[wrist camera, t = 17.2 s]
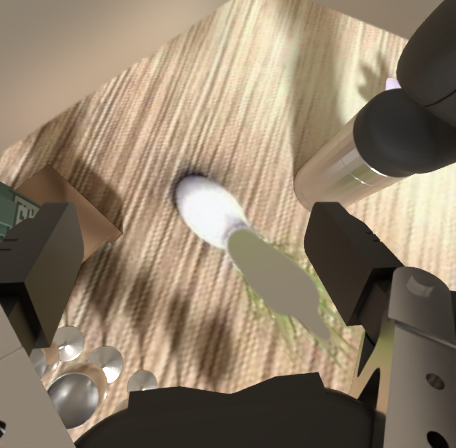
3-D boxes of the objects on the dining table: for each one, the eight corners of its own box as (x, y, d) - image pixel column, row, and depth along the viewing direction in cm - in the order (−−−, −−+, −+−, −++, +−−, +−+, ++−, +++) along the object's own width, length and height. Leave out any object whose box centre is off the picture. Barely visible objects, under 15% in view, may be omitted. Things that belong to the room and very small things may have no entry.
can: (16, 210, 37) (-87, 161, 23) (68, 213, 38) (2, 168, 24) (7, 259, 36) (-107, 241, 22) (62, 261, 37) (-13, 245, 23)
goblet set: (36, 355, 39) (-32, 388, 26) (64, 314, 41) (12, 327, 28) (224, 459, 40) (245, 541, 27) (244, 416, 42) (274, 474, 29)
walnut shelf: (62, 177, 44) (48, 163, 39) (122, 233, 44) (115, 227, 39) (-22, 247, 40) (-49, 241, 36) (43, 309, 40) (24, 312, 35)
